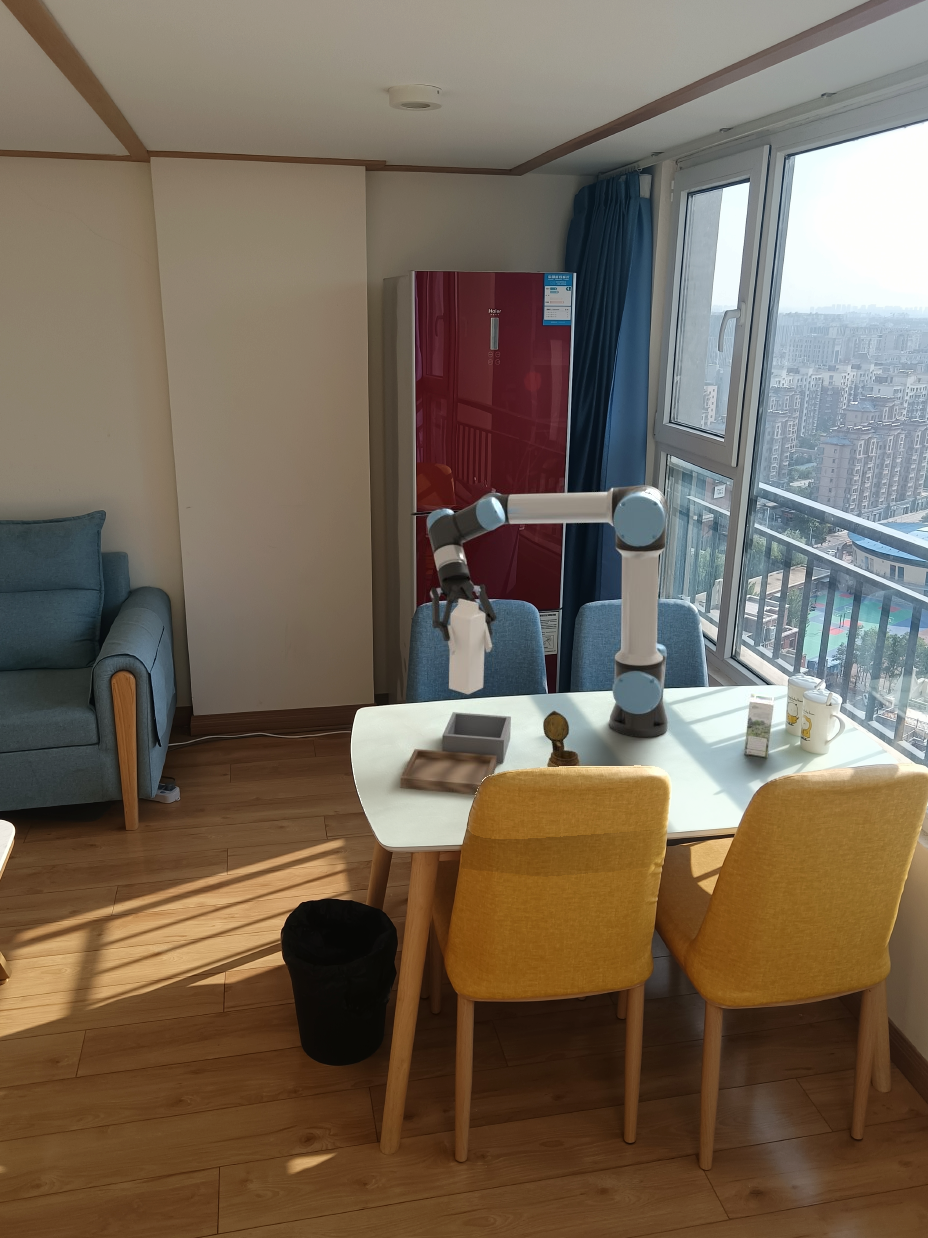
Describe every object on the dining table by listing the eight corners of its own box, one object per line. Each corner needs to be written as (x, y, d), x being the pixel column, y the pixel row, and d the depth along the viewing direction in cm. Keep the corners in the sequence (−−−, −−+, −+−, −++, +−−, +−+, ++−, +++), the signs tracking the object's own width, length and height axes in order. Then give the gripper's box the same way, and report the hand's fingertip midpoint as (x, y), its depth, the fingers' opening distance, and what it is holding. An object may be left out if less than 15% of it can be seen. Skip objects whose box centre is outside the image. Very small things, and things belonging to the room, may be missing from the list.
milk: (463, 682, 240) (466, 595, 233) (483, 688, 236) (486, 600, 230) (448, 688, 235) (450, 600, 229) (468, 694, 232) (470, 605, 225)
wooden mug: (568, 780, 227) (572, 708, 222) (588, 808, 215) (593, 732, 209) (531, 784, 225) (534, 711, 220) (549, 811, 213) (553, 735, 208)
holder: (510, 738, 250) (510, 716, 248) (503, 763, 236) (503, 740, 234) (452, 733, 252) (452, 712, 250) (442, 758, 238) (442, 735, 236)
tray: (496, 765, 235) (496, 755, 234) (487, 795, 219) (487, 785, 219) (414, 758, 238) (414, 749, 237) (400, 787, 222) (400, 777, 222)
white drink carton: (768, 749, 246) (774, 695, 242) (767, 758, 241) (773, 703, 237) (745, 746, 248) (750, 692, 244) (743, 755, 243) (749, 700, 238)
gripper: (488, 573, 246) (508, 654, 236) (407, 578, 239) (425, 661, 230) (496, 557, 239) (517, 640, 230) (413, 562, 233) (432, 647, 223)
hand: (471, 651), depth 230 cm, fingers closed on milk, 8 cm apart
